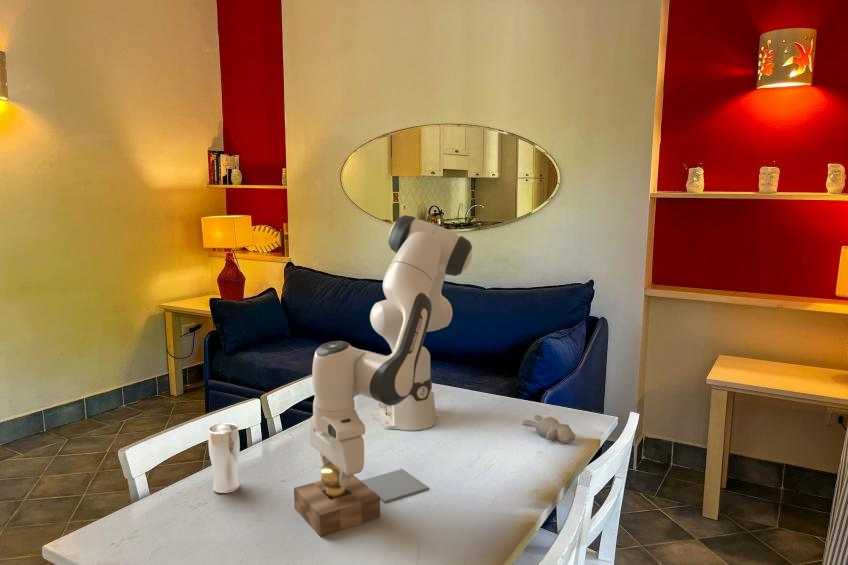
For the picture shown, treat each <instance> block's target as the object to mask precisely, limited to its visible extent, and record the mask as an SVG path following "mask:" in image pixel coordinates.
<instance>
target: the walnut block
mask: <svg viewBox="0 0 848 565" xmlns="http://www.w3.org/2000/svg"><path fill="white" fill-rule="evenodd" d="M293 495H294V496H293V497H294V498H293V500H294V501H293V504H294V509H295V511H297V512H298V513H299V515H300V516H301V517H302V519H304V521H306V523H308V525H309V526H310V527H311V528H312V529H313V530H314V531H315V533H316V534H317V535H318V536H319V538H321V537H324V536H327V535H330V534H333V533H336V532H340V531H343V530H346V529H349V528H352V527H355V526H359V525H362V524H364V523H368V522H370V521H373V520H376V519H380V518H381V499H380V496H379V495H377V494H376V493H375V492H374V491H373V490H371V489H370V488H369V487H368V486H366V485H365V484H364V483H363V482H362V481H361V480H360V479H359V478H358V477H357V476H356V475H355V474H353V475H349V482H348V485H347V486H345V496H342V497H339V498H335V499H332V500H330V499H329V498H328V497H327V496H326V486H324V485H322V483H321V480H319V481H318V480H317V481H314V482H311V483H307V484H303V485H299V486H295V487H294V488H293Z"/></svg>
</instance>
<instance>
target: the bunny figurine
mask: <svg viewBox="0 0 848 565" xmlns="http://www.w3.org/2000/svg"><path fill="white" fill-rule="evenodd" d="M533 418H534V420H535V421H532V420H530V419H523V420H522V422H521V425H522V426H524V427H529V428H535V432H536V433H537V435H538V436H539V437H541V438H543V439H545V438H546V439H545V441H548V442H549V441H555V442H556V441H557V442H558V443H557V442H556V443H557V444H559V443H562V444H568V443H570V442H573V441H575V440H576V434H575V433H574V432H573V430H572V429H571V427H570V425H569V424H567V423H560V421H559V420H558V419H556V418H554V417H552V416H548V417H542V416H541V415H539V414H535V415H534V416H533ZM536 421H537V422H536ZM562 444H561V445H562Z"/></svg>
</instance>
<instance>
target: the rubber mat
mask: <svg viewBox="0 0 848 565" xmlns="http://www.w3.org/2000/svg"><path fill="white" fill-rule="evenodd" d="M360 481H362V482H363V483H364V484H365V485H366V486H368V487H369V488H370V489H371V490H373V491H374V492H375V493H376V494H377V495H379V496H380V501H382V502H383V503H384V504H386V503H389V502H392V501H396V500H399V499H402V498H404V497H405V498H406V497H409V496H411V495H412V496H413V495H415V494H417V493H422V492H424V491H427V490H429V488H430V487H429V486H427V485H426V484H425V483H423V482H422V481H421V480H419V479H418V478H416V477H414V476H413V475H412V474H410V473H409V472H408V471H406V470H405V469H403V468H400V469H397V470H394V471H389V472H386V473H383V474H380V475H375V476H372V477H369V478H366V479H361V480H360Z"/></svg>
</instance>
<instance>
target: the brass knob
mask: <svg viewBox="0 0 848 565" xmlns="http://www.w3.org/2000/svg"><path fill="white" fill-rule="evenodd" d="M320 474H321V476H320V479H321V480H320V481H321V483H322V485H324V486H326V496H327V497H328V498H329V499H330V500H332V499H335V498H339V497H342V496H345V486H343V487H341V486H340V485H339V484H338V477H339V476H340V472H339V468H338V467H337V466H335V465H334V464H333V463H329V464H326V465H324V466H323V465H322V466H321V467H320ZM348 482H349V477H348Z"/></svg>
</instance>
